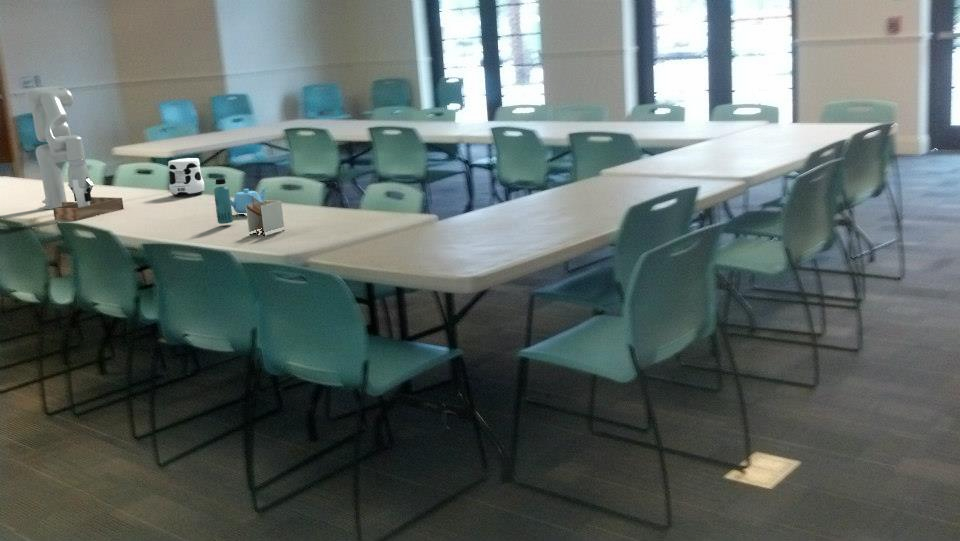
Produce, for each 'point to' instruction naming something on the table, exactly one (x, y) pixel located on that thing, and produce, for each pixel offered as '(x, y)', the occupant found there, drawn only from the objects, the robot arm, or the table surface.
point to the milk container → (185, 177)
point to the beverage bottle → (223, 203)
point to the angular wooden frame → (87, 208)
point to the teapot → (246, 199)
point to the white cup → (79, 194)
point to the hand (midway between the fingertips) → (83, 200)
